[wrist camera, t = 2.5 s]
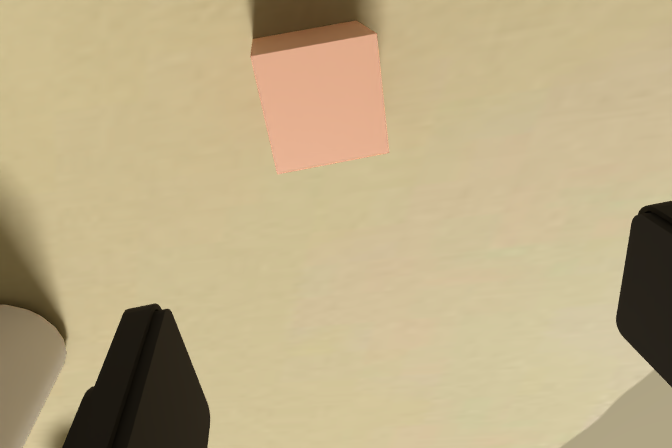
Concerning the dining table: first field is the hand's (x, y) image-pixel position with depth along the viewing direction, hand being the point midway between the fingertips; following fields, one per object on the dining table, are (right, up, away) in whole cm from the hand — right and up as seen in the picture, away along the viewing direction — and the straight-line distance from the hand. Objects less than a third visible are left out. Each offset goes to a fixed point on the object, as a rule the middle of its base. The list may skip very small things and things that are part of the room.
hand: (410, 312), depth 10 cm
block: (-3, +10, +20) cm, 23 cm away
